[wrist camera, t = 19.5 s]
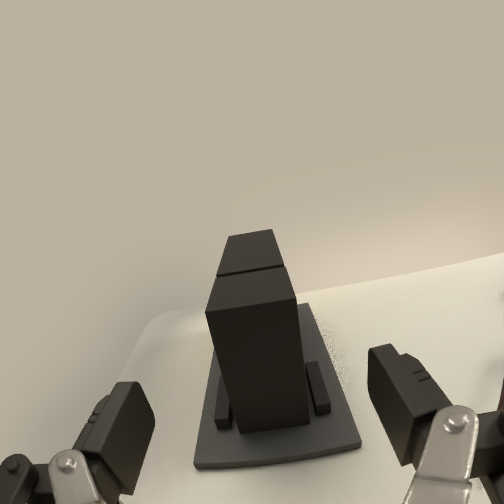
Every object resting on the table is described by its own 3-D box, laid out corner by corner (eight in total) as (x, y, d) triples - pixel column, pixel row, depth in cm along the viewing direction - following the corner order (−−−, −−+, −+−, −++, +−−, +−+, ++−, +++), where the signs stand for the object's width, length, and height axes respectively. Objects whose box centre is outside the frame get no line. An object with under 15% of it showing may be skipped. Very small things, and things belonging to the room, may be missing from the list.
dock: (195, 469, 15) (138, 342, 13) (221, 321, 35) (202, 239, 33) (361, 447, 15) (365, 307, 13) (308, 307, 35) (297, 223, 32)
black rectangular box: (239, 434, 17) (204, 311, 15) (241, 387, 22) (215, 277, 20) (310, 424, 17) (296, 297, 15) (300, 378, 22) (285, 266, 20)
